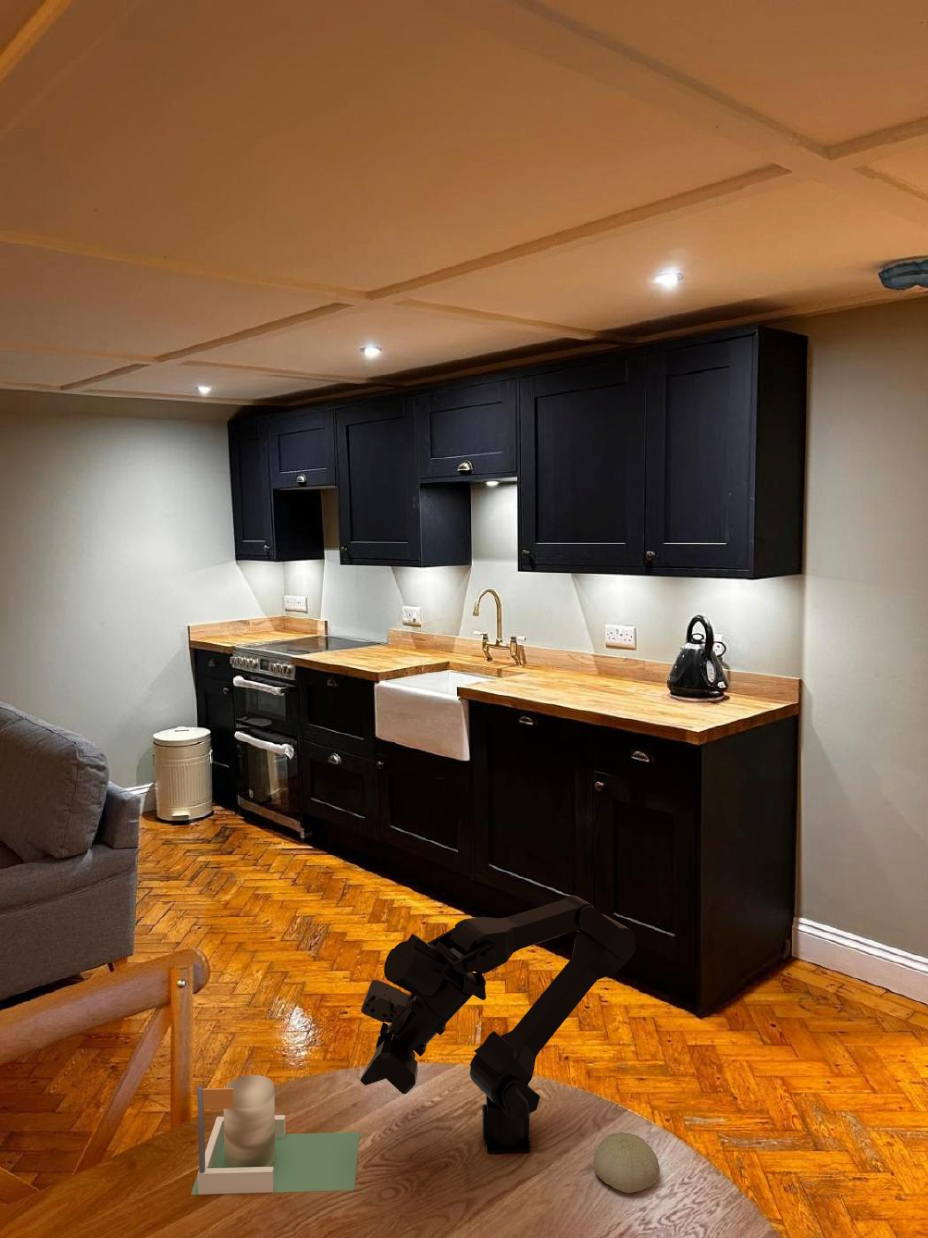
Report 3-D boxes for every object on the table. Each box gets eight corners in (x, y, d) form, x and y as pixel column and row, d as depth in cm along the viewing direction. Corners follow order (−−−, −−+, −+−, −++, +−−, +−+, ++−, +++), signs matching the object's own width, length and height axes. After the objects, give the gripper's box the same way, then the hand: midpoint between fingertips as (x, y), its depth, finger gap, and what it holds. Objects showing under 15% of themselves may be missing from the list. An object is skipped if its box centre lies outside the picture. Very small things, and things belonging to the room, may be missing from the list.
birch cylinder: (278, 1145, 135) (277, 1074, 134) (271, 1179, 128) (270, 1105, 127) (230, 1147, 135) (228, 1075, 133) (220, 1181, 128) (218, 1106, 126)
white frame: (285, 1134, 137) (284, 1038, 136) (272, 1192, 126) (270, 1088, 124) (217, 1135, 137) (215, 1040, 135) (198, 1194, 125) (195, 1090, 123)
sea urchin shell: (654, 1138, 136) (660, 1127, 130) (657, 1201, 131) (663, 1193, 125) (591, 1134, 137) (594, 1123, 130) (592, 1196, 132) (595, 1188, 125)
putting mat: (359, 1138, 138) (359, 1132, 138) (354, 1197, 126) (354, 1190, 126) (210, 1142, 137) (210, 1136, 137) (190, 1201, 125) (190, 1194, 125)
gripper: (401, 939, 140) (333, 1013, 141) (384, 994, 121) (306, 1079, 122) (456, 989, 140) (387, 1062, 141) (447, 1052, 121) (368, 1136, 122)
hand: (362, 1082), depth 131 cm, fingers closed
